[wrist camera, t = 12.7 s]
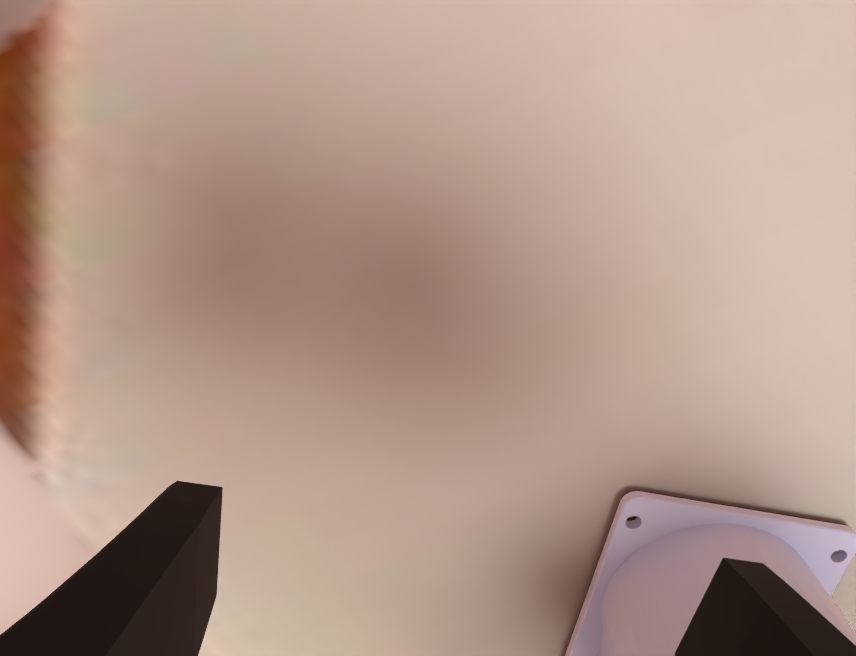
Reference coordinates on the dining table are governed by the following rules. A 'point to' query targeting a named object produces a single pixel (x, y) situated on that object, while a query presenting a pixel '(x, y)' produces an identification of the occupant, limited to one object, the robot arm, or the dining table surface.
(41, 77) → the dining table surface
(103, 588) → the robot arm
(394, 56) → the dining table surface
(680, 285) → the dining table surface
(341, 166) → the dining table surface
